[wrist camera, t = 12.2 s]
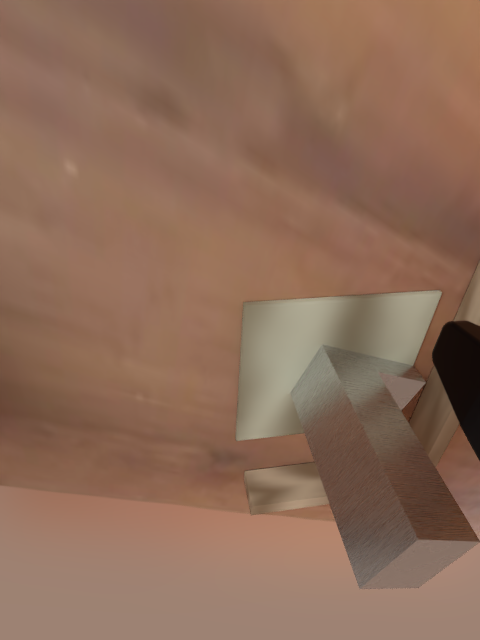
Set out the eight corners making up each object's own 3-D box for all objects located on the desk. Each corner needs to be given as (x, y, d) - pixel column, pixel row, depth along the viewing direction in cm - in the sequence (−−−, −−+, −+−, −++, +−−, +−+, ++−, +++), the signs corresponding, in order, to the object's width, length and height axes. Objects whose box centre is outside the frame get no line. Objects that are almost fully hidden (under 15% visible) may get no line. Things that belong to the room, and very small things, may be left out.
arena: (232, 481, 34) (239, 517, 32) (248, 217, 21) (261, 246, 18) (405, 458, 37) (422, 490, 34) (521, 209, 23) (563, 234, 21)
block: (290, 392, 28) (359, 588, 19) (322, 344, 26) (418, 539, 17) (378, 408, 31) (477, 587, 22) (414, 365, 29) (541, 544, 20)
